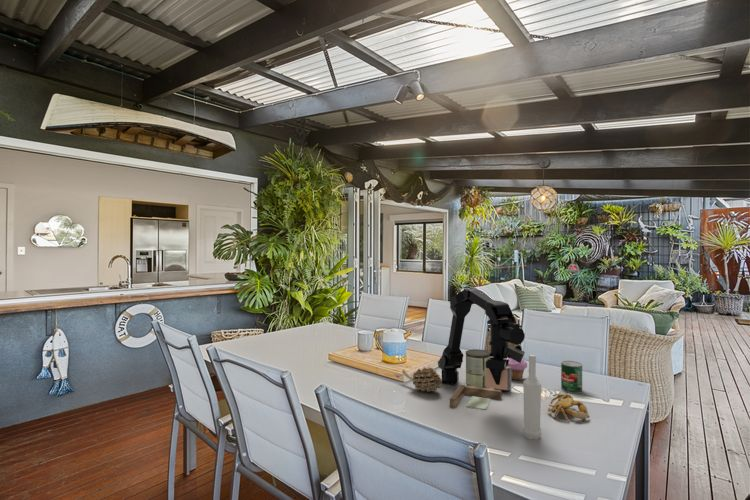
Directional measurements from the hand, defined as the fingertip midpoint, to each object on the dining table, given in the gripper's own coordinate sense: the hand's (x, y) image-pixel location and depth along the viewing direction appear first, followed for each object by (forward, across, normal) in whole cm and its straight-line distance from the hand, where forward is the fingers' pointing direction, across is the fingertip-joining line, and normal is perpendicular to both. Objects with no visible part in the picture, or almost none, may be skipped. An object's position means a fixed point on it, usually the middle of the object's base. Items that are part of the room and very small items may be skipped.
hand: (498, 382), depth 145 cm
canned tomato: (+11, +36, -24) cm, 45 cm away
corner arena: (+11, +7, +9) cm, 16 cm away
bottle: (+11, -14, -12) cm, 21 cm away
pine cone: (+11, +11, +33) cm, 37 cm away
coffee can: (+11, +26, +12) cm, 31 cm away
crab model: (+11, +9, -22) cm, 27 cm away
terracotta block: (+2, 0, 0) cm, 2 cm away
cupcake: (+11, +42, -2) cm, 44 cm away
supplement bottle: (+11, +25, +2) cm, 27 cm away
